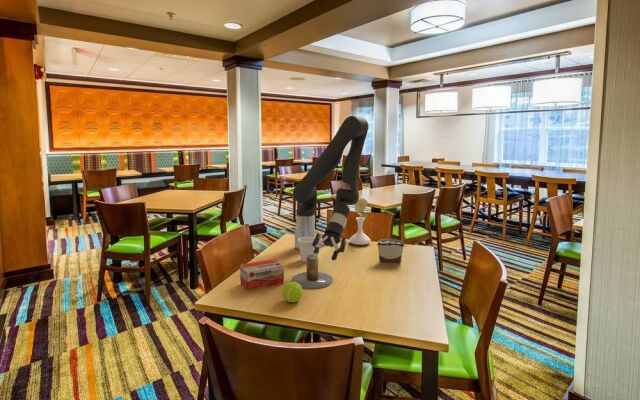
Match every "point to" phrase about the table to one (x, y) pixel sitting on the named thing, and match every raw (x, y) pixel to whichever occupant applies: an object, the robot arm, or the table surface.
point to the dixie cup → (306, 247)
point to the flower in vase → (360, 224)
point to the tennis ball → (292, 292)
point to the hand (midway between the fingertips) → (323, 258)
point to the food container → (390, 251)
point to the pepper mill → (312, 266)
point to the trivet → (322, 281)
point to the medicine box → (261, 274)
